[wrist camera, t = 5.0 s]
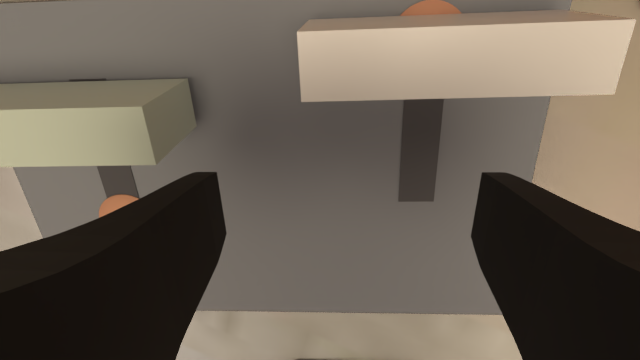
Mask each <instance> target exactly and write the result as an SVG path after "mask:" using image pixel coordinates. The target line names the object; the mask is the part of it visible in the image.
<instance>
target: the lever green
mask: <svg viewBox="0 0 640 360" xmlns="http://www.w3.org/2000/svg"><path fill="white" fill-rule="evenodd" d="M196 126H197V125H196V120H195V115H194V109H193V104H192V99H191V94H190V88H189V83H188V78H186V79H151V80H117V81H82V82H48V83H14V84H0V167H47V166H124V165H157V164H158V163H159V162H160V161H161V160H162V159H163V158H164V157H165V156H166V155H167V154H168V153H169V152H170V151H171V150H172V149H173V148H174V147H175V146H176V145H177V144H179V143H180V142H181V141H182V140H183V139H184V138H185V137H186V136H187V135H188V134H189V133H190V132H191V131H192V130H193V129H194V128H195V127H196Z"/></svg>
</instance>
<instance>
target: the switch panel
mask: <svg viewBox="0 0 640 360" xmlns="http://www.w3.org/2000/svg"><path fill="white" fill-rule="evenodd" d="M571 2H572V0H55V1H33V2H11V3H0V84H14V83H48V82H82V81H117V80H151V79H186V78H188V83H189V88H190V94H191V99H192V104H193V109H194V115H195V120H196V125H197V126H196V127H195V128H194V129H193V130H192V131H191V132H190V133H189V134H188V135H187V136H186V137H185V138H184V139H183V140H182V141H181V142H180V143H179V144H177V145H176V146H175V147H174V148H173V149H172V150H171V151H170V152H169V153H168V154H167V155H166V156H165V157H164V158H163V159H162V160H161V161H160V162H159V163H158V164H157V165H124V166H47V167H13V168H14V171H15V173H16V176H17V178H18V180H19V183H20V185H21V187H22V190H23V192H24V194H25V197H26V199H27V201H28V204H29V206H30V208H31V211H32V213H33V215H34V218H35V220H36V223H37V225H38V227H39V230H40V232H41V234H42V237H43V238H46V237H50V236H53V235H56V234H59V233H61V232H64V231H67V230H69V229H72V228H75V227H77V226H80V225H83V224H85V223H88V222H90V221H93V220H95V219H97V218H100V217H102V216H104V215H106V214H109V213H111V212H113V211H115V210H117V209H119V208H121V207H123V206H125V205H128V204H130V203H132V202H134V201H136V200H138V199H140V198H142V197H144V196H146V195H148V194H150V193H152V192H154V191H156V190H158V189H159V188H161V187H163V186H165V185H167V184H169V183H171V182H173V181H175V180H177V179H179V178H181V177H183V176H186V175H188V174H191V173H194V172H217V176H218V183H219V189H220V195H221V201H222V208H223V214H224V220H225V226H226V232H227V234H226V238H225V241H224V245H223V248H222V252H221V255H220V258H219V261H218V264H217V266H216V269H215V271H214V273H213V275H212V277H211V279H210V282H209V284H208V286H207V288H206V290H205V292H204V294H203V296H202V299H201V301H200V303H199V305H198V307H197V309H196V310H200V311H271V312H341V313H411V314H482V315H502V312H501V310H500V308H499V306H498V304H497V302H496V300H495V298H494V296H493V294H492V292H491V290H490V288H489V285H488V283H487V281H486V279H485V277H484V275H483V273H482V270H481V268H480V266H479V262H478V259H477V256H476V253H475V249H474V246H473V242H472V239H471V232H472V226H473V220H474V215H475V209H476V203H477V197H478V192H479V186H480V180H481V174H482V172H506V173H509V174H512V175H515V176H517V177H520V178H522V179H524V180H526V181H529V182H531V183H532V178H533V174H534V169H535V165H536V160H537V156H538V151H539V147H540V142H541V138H542V133H543V129H544V124H545V119H546V115H547V110H548V106H549V101H550V97H551V96H531V97H489V98H448V99H406V100H365V101H324V102H301V90H300V75H299V59H298V43H297V31H298V30H299V29H300V28H301V27H302V26H303V25H304V24H305V23H306V22H307V21H308V20H309V19H333V18H359V17H385V16H410V15H436V14H461V13H487V12H512V11H538V10H570V6H571Z"/></svg>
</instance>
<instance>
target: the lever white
mask: <svg viewBox="0 0 640 360" xmlns="http://www.w3.org/2000/svg"><path fill="white" fill-rule="evenodd" d="M635 22H636V19H631V18H623V17H616V16H608V15H600V14H593V13H585V12H577V11H570V10H538V11H512V12H487V13H461V14H436V15H410V16H385V17H359V18H333V19H309V20H308V21H307V22H306V23H305V24H304V25H303V26H302V27H301V28H300V29H299V30H298V31H297V43H298V59H299V75H300V90H301V102H324V101H365V100H406V99H448V98H489V97H531V96H572V95H614V94H615V90H616V87H617V84H618V80H619V77H620V73H621V70H622V66H623V63H624V60H625V56H626V53H627V49H628V46H629V43H630V39H631V36H632V32H633V29H634V25H635Z"/></svg>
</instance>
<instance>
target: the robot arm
mask: <svg viewBox="0 0 640 360" xmlns="http://www.w3.org/2000/svg"><path fill="white" fill-rule="evenodd" d="M226 234H227V232H226V226H225V220H224V214H223V208H222V201H221V195H220V189H219V183H218V176H217V172H194V173H191V174H188V175H186V176H183V177H181V178H179V179H177V180H175V181H173V182H171V183H169V184H167V185H165V186H163V187H161V188H159V189H158V190H156V191H154V192H152V193H150V194H148V195H146V196H144V197H142V198H140V199H138V200H136V201H134V202H132V203H130V204H128V205H125V206H123V207H121V208H119V209H117V210H115V211H113V212H111V213H109V214H106V215H104V216H102V217H100V218H97V219H95V220H93V221H90V222H88V223H85V224H83V225H80V226H77V227H75V228H72V229H69V230H67V231H64V232H61V233H59V234H56V235H53V236H50V237H46V238H43V239H40V240H37V241H34V242H30V243H27V244H24V245H21V246H18V247H14V248H11V249H8V250H4V251H1V252H0V360H175V359H176V356H177V354H178V351H179V348H180V345H181V342H182V340H183V338H184V335H185V333H186V330H187V328H188V326H189V324H190V322H191V320H192V318H193V315H194V313H195V311H196V309H197V307H198V305H199V303H200V301H201V299H202V296H203V294H204V292H205V290H206V288H207V286H208V284H209V282H210V279H211V277H212V275H213V273H214V271H215V269H216V266H217V264H218V261H219V258H220V255H221V252H222V248H223V245H224V241H225V238H226ZM471 239H472V242H473V246H474V249H475V253H476V256H477V259H478V262H479V266H480V268H481V270H482V273H483V275H484V277H485V279H486V281H487V283H488V285H489V288H490V290H491V292H492V294H493V296H494V298H495V300H496V302H497V304H498V306H499V308H500V310H501V312H502V314H503V317H504V319H505V321H506V323H507V325H508V327H509V329H510V331H511V333H512V335H513V337H514V340H515V342H516V344H517V347H518V349H519V351H520V354H521V356H522V359H523V360H640V231H637V230H634V229H631V228H629V227H626V226H624V225H621V224H619V223H616V222H614V221H612V220H609V219H607V218H605V217H602V216H600V215H598V214H596V213H593V212H591V211H589V210H587V209H584V208H582V207H580V206H578V205H576V204H574V203H572V202H569V201H567V200H565V199H563V198H561V197H559V196H557V195H555V194H553V193H551V192H549V191H547V190H545V189H543V188H541V187H539V186H537V185H535V184H533V183H531V182H529V181H526V180H524V179H522V178H520V177H517V176H515V175H512V174H509V173H506V172H482V174H481V180H480V186H479V192H478V197H477V203H476V209H475V215H474V220H473V226H472V232H471Z"/></svg>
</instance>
